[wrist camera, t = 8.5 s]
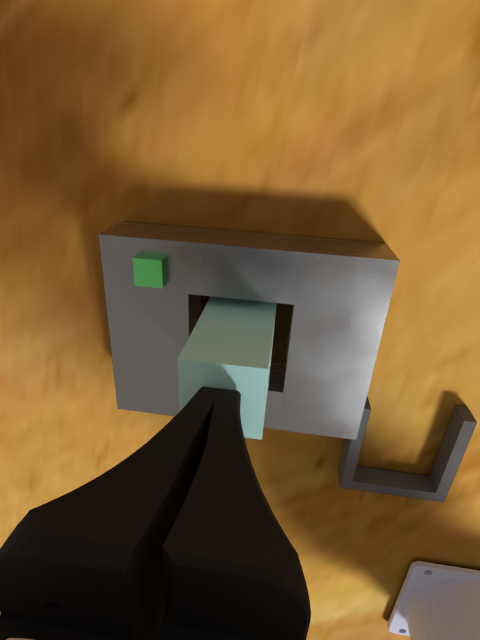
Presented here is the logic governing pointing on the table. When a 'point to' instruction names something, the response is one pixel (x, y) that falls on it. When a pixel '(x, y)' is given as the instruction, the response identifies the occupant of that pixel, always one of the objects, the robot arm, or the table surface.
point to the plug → (231, 356)
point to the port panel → (257, 285)
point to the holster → (408, 483)
